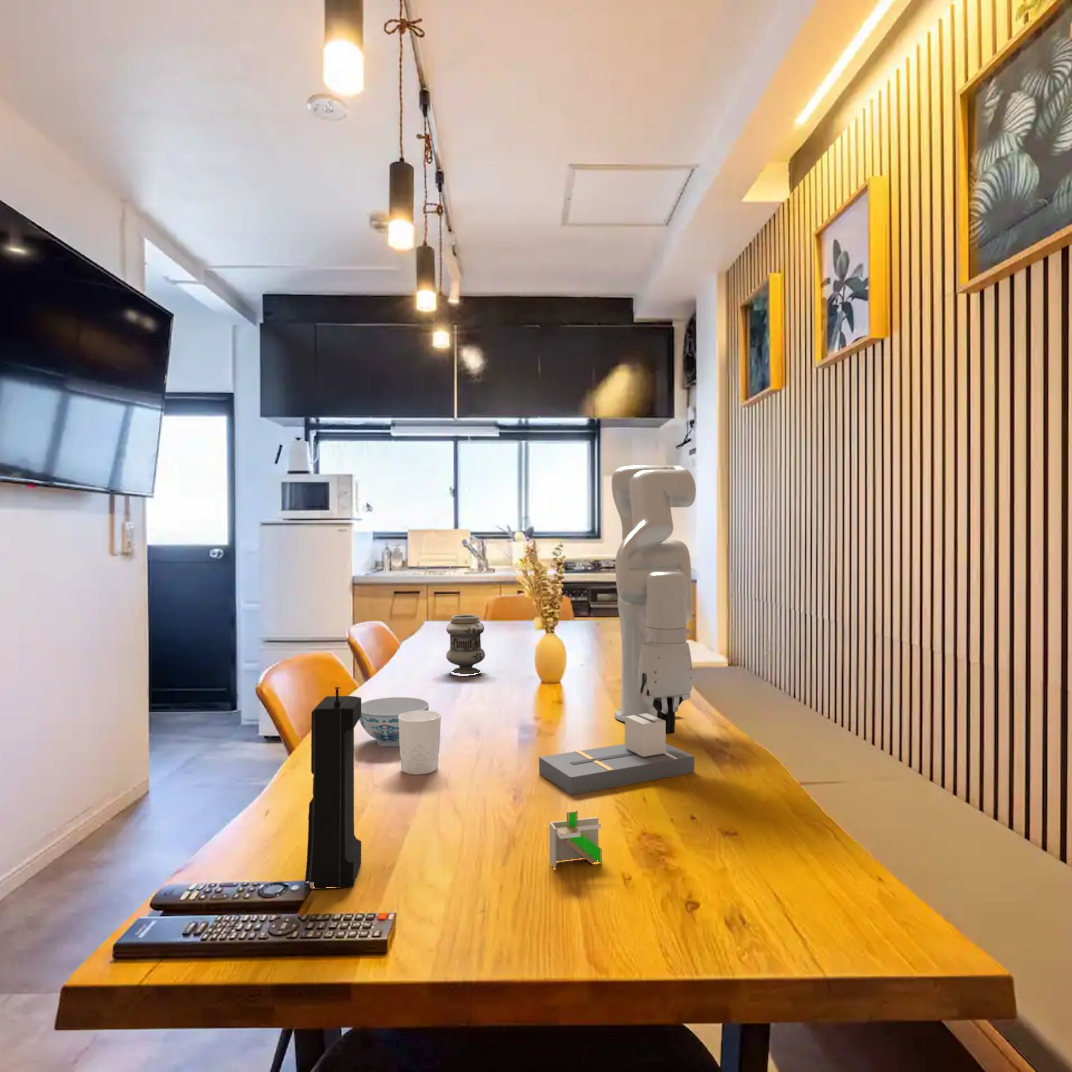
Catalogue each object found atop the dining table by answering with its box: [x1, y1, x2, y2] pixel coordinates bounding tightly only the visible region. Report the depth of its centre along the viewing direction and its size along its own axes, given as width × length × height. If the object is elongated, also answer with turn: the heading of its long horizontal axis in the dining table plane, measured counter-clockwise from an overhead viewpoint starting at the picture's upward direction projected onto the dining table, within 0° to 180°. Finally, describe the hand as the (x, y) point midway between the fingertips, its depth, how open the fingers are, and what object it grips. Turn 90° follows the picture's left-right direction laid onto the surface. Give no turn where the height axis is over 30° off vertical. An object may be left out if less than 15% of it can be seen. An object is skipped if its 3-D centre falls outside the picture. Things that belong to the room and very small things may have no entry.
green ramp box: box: [549, 810, 603, 869], centre depth 95 cm, size 4×7×8 cm, turn 105°
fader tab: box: [624, 713, 667, 757], centre depth 135 cm, size 5×6×6 cm
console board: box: [538, 743, 695, 796], centre depth 132 cm, size 26×12×3 cm, turn 116°
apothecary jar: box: [445, 614, 486, 674], centre depth 223 cm, size 12×12×18 cm
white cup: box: [398, 710, 442, 776], centre depth 134 cm, size 8×8×10 cm
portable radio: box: [304, 686, 362, 888], centre depth 93 cm, size 8×6×25 cm
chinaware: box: [358, 696, 430, 747], centre depth 151 cm, size 15×15×8 cm
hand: (666, 732), depth 137 cm, fingers closed
